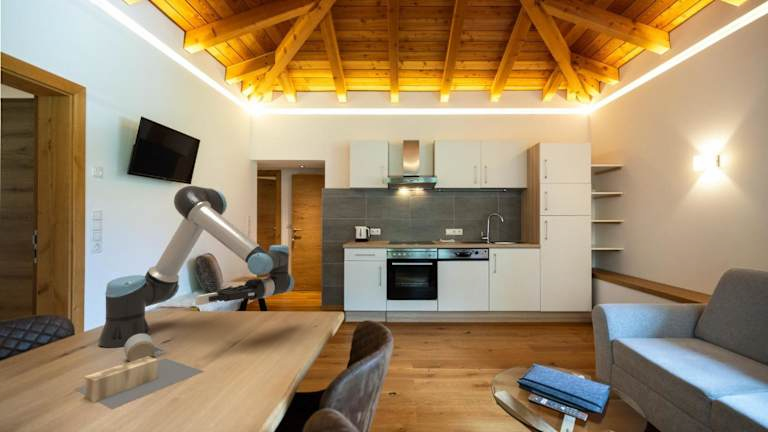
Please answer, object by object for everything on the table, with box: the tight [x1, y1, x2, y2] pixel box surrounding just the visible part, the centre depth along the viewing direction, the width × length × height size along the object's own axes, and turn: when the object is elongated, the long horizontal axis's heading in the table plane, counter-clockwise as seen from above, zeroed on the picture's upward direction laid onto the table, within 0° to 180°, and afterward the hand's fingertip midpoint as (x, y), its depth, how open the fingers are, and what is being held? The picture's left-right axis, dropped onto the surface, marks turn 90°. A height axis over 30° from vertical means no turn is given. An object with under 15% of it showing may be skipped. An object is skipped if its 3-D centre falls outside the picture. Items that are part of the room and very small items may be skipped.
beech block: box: [83, 356, 159, 403], centre depth 85 cm, size 5×5×14 cm
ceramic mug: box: [123, 334, 167, 362], centre depth 106 cm, size 11×8×8 cm
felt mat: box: [74, 358, 205, 410], centre depth 89 cm, size 20×22×1 cm
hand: (197, 300), depth 102 cm, fingers closed
